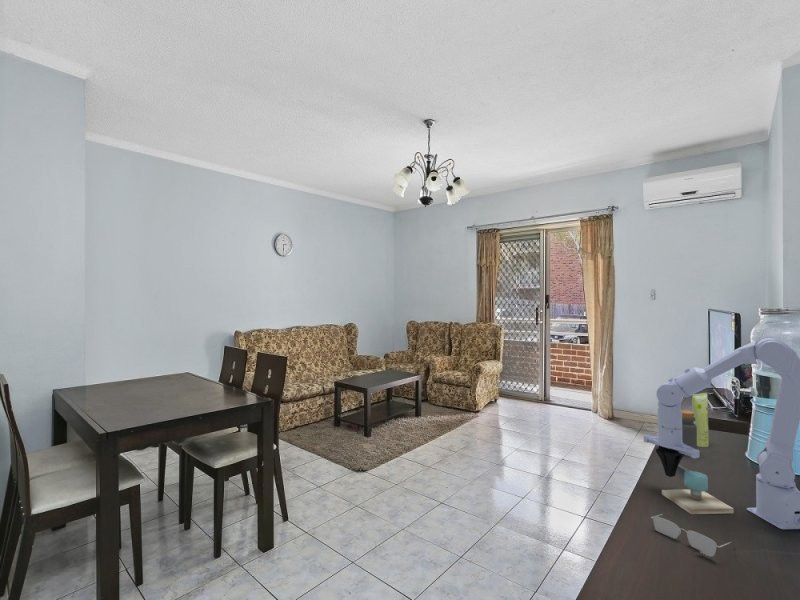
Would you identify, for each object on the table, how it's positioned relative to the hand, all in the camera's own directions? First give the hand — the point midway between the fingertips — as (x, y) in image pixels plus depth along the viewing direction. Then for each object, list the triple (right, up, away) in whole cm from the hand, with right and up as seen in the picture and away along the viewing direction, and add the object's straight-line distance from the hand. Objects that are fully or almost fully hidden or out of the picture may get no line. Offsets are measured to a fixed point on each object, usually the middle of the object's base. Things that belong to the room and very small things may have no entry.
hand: (670, 475), depth 116 cm
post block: (+3, -5, -6) cm, 8 cm away
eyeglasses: (-9, -5, -22) cm, 24 cm away
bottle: (+24, -5, +29) cm, 38 cm away
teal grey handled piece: (+3, -1, -3) cm, 4 cm away
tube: (+35, -5, +37) cm, 52 cm away
